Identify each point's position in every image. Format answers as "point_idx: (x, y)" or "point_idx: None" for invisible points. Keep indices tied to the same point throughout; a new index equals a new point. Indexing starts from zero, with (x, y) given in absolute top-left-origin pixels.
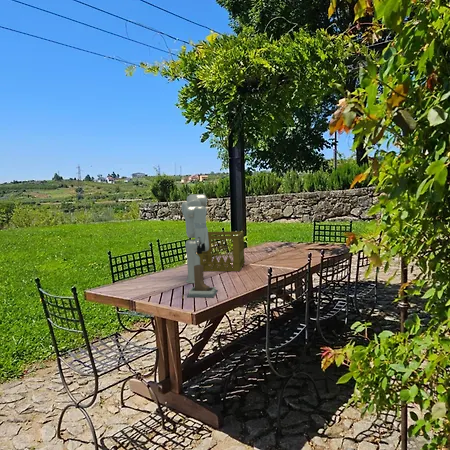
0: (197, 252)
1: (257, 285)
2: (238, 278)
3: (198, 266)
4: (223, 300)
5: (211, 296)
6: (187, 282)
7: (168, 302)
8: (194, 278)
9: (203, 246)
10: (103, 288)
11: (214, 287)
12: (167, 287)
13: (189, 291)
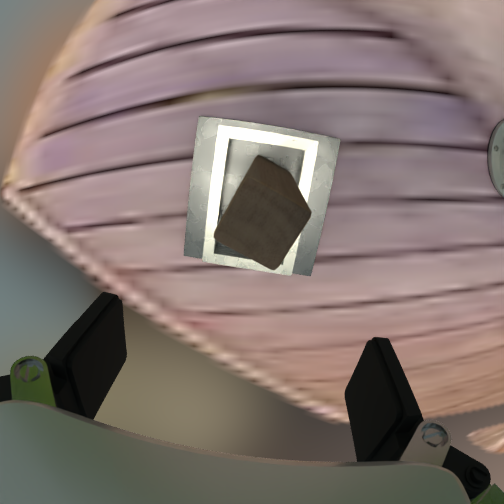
0: (96, 307)
1: None
2: (491, 344)
3: (218, 227)
4: (145, 293)
5: (184, 246)
6: (500, 122)
7: (123, 47)
8: (252, 163)
9: (363, 441)
10: None
11: (286, 269)
12: (428, 14)
13: (219, 127)
